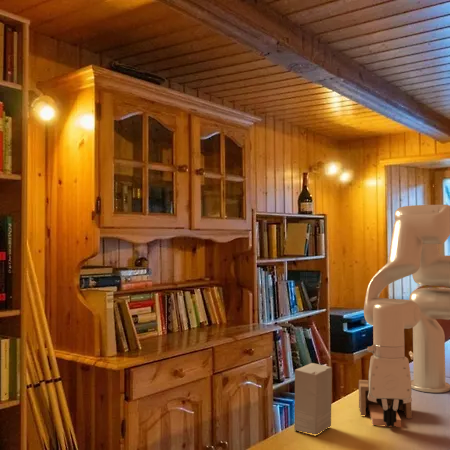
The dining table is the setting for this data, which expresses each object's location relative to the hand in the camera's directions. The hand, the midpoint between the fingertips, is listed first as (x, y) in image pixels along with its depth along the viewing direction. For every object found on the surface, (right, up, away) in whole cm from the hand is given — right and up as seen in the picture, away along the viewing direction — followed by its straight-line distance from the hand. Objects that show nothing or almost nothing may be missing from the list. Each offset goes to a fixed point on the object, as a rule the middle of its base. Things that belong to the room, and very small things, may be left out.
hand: (389, 424), depth 138 cm
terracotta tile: (+1, -2, +8) cm, 8 cm away
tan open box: (+2, -1, +12) cm, 13 cm away
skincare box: (-19, -1, -1) cm, 19 cm away
